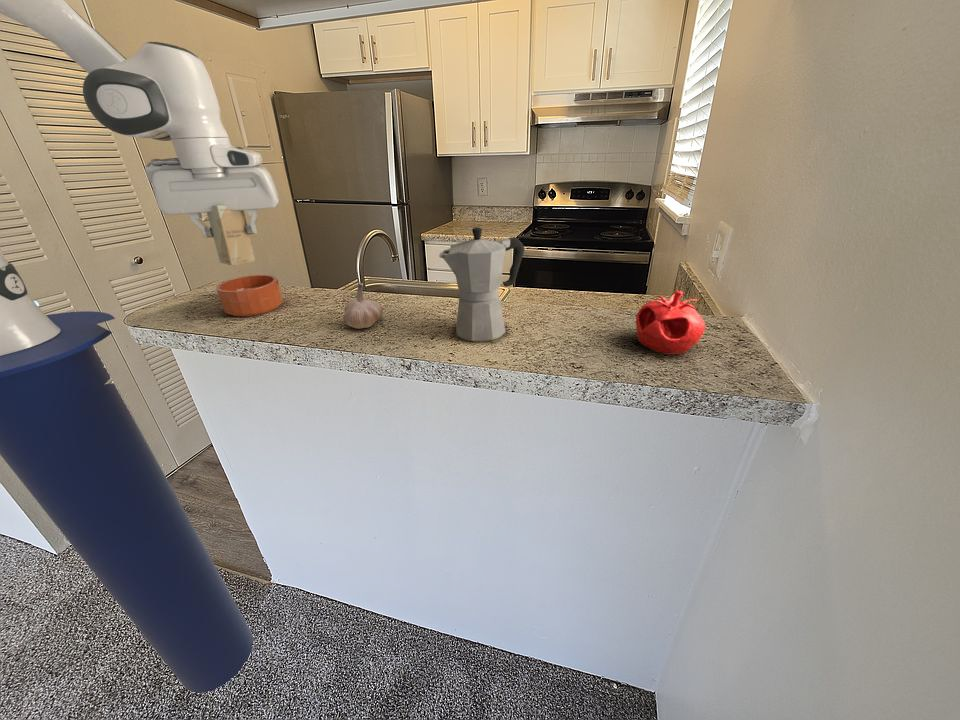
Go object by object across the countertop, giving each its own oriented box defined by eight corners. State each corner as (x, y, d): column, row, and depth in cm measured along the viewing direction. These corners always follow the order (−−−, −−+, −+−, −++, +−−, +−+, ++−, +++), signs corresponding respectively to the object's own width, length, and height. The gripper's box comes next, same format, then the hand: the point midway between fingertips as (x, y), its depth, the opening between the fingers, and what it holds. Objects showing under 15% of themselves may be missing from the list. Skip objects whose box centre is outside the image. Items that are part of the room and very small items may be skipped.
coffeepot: (457, 350, 66) (450, 238, 57) (436, 329, 73) (427, 227, 65) (536, 330, 72) (540, 225, 63) (509, 313, 79) (509, 217, 71)
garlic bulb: (378, 313, 81) (371, 274, 77) (391, 325, 76) (385, 284, 72) (340, 322, 78) (331, 282, 74) (352, 335, 72) (343, 292, 69)
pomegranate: (656, 327, 71) (666, 276, 67) (711, 347, 64) (727, 291, 60) (619, 342, 67) (627, 288, 62) (674, 366, 59) (688, 307, 55)
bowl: (217, 320, 81) (208, 294, 78) (233, 301, 90) (225, 277, 88) (278, 313, 83) (271, 288, 80) (287, 295, 93) (281, 272, 90)
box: (231, 266, 79) (215, 206, 74) (219, 263, 81) (202, 204, 76) (257, 261, 83) (243, 203, 78) (244, 258, 85) (230, 201, 80)
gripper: (132, 160, 68) (165, 243, 74) (263, 154, 72) (283, 234, 79) (148, 158, 73) (178, 236, 80) (270, 153, 77) (288, 228, 84)
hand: (232, 235), depth 79 cm, fingers closed on box, 6 cm apart
